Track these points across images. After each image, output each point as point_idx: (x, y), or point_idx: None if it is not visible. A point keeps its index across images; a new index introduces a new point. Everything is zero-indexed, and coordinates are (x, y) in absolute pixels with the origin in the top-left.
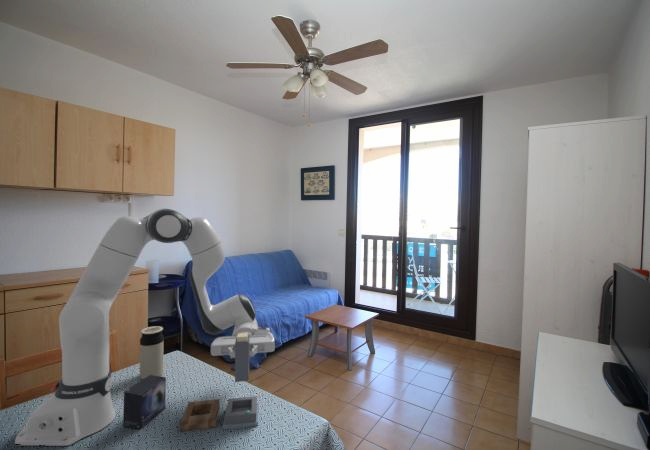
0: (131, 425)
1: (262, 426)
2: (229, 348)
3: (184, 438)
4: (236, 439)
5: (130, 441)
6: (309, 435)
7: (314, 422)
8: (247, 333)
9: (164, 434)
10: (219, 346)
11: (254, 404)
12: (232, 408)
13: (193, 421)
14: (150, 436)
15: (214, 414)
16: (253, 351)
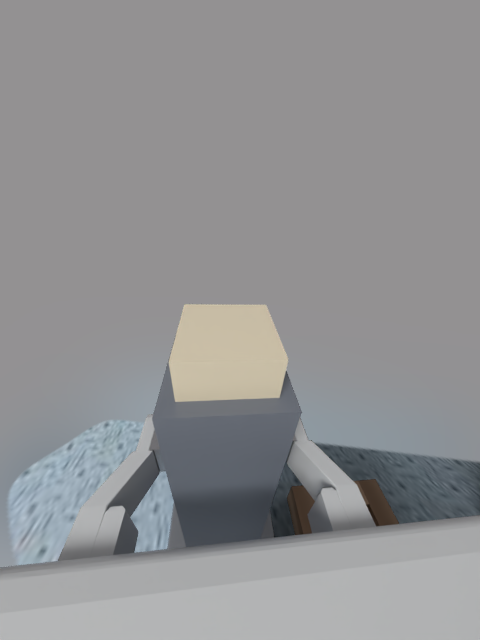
0: None
1: (165, 488)
2: (342, 478)
3: (339, 463)
4: None
5: (448, 467)
6: (71, 440)
7: (20, 490)
8: (174, 346)
9: (396, 484)
10: (463, 517)
11: (176, 547)
12: None
13: None
14: (422, 480)
15: (300, 504)
16: (149, 414)
